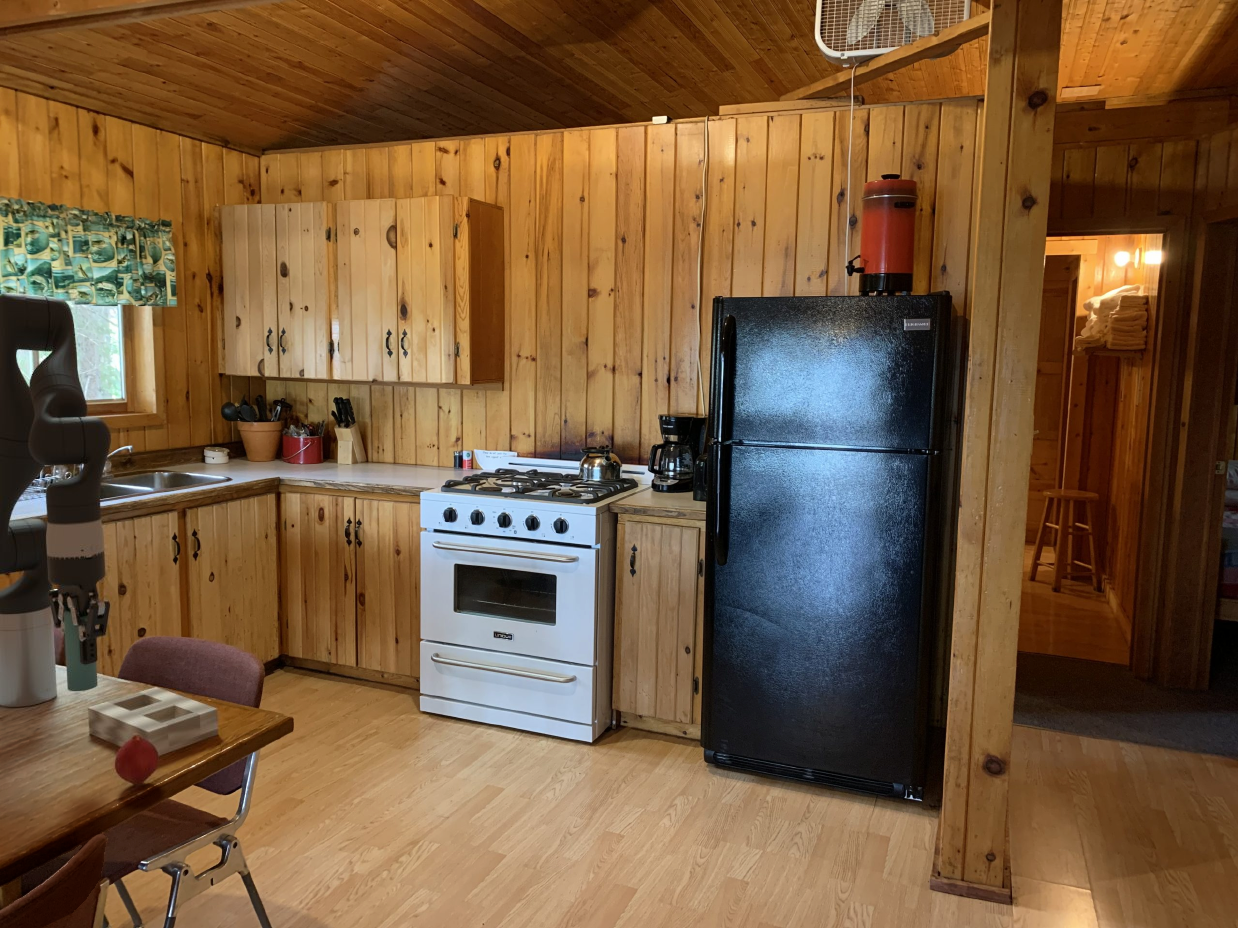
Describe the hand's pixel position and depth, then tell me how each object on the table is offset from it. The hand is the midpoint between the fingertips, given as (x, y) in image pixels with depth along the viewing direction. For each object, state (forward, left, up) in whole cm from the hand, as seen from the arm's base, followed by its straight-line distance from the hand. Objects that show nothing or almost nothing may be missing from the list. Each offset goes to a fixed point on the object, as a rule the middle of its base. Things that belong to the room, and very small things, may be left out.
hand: (81, 659), depth 144 cm
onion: (+12, +1, -17) cm, 21 cm away
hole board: (-4, +13, -17) cm, 22 cm away
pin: (0, 0, -4) cm, 4 cm away
